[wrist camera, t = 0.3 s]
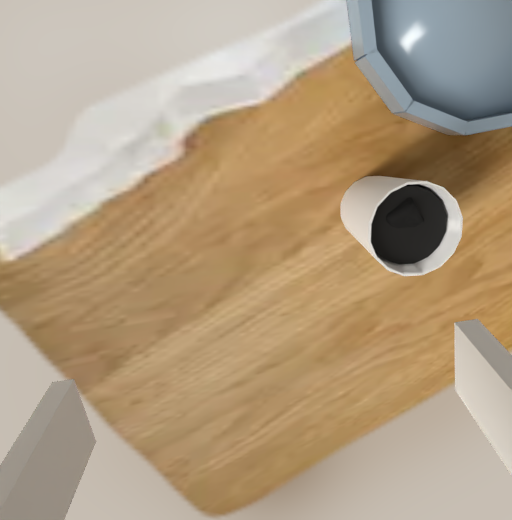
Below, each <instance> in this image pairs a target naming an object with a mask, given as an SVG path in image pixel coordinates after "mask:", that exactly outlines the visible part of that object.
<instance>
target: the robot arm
mask: <svg viewBox="0 0 512 520" xmlns="http://www.w3.org/2000/svg"><path fill="white" fill-rule="evenodd" d="M455 390H456V392H457V393H458V395H459V396H460V398H461V400H462V401H463V403H464V404H465V406H466V407H467V409H468V410H469V412H470V413H471V415H472V416H473V418H474V419H475V421H476V422H477V423H478V425H479V427H480V428H481V430H482V431H483V433H484V434H485V436H486V437H487V439H488V440H489V442H490V443H491V445H492V446H493V448H494V449H495V451H496V452H497V454H498V455H499V457H500V458H501V460H502V462H503V463H504V465H505V466H506V468H507V469H508V471H509V472H510V473H511V475H512V355H511V354H510V353H509V352H508V351H507V350H506V349H505V348H504V347H503V346H502V344H501V343H500V342H499V341H498V340H497V339H496V338H495V337H494V336H493V335H492V334H491V333H490V332H489V331H488V330H487V329H486V327H485V326H484V325H483V324H482V323H481V322H480V321H479V320H478V319H475V320H468V321H461V322H455ZM95 443H96V440H95V437H94V434H93V432H92V429H91V426H90V424H89V420H88V418H87V415H86V412H85V409H84V406H83V403H82V401H81V398H80V395H79V392H78V390H77V387H76V384H75V381H74V379H71V380H64V381H57V382H52V384H51V385H50V387H49V388H48V390H47V391H46V393H45V395H44V396H43V398H42V399H41V401H40V403H39V404H38V406H37V407H36V409H35V411H34V412H33V414H32V416H31V417H30V419H29V421H28V422H27V423H26V425H25V427H24V428H23V430H22V431H21V433H20V435H19V437H18V438H17V439H16V441H15V443H14V444H13V446H12V447H11V449H10V451H9V452H8V454H7V456H6V457H5V459H4V460H3V462H2V464H1V465H0V520H64V519H65V516H66V514H67V512H68V509H69V507H70V504H71V502H72V499H73V497H74V494H75V492H76V489H77V487H78V484H79V482H80V479H81V477H82V475H83V472H84V470H85V467H86V465H87V462H88V460H89V457H90V455H91V452H92V450H93V447H94V445H95Z"/></svg>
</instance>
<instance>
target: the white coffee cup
mask: <svg viewBox="0 0 512 520" xmlns="http://www.w3.org/2000/svg"><path fill="white" fill-rule="evenodd" d="M341 219H342V221H343V223H344V226H345V228H346V229H347V230H348V231H349V232H350V233H351V234H352V235H353V236H354V237H355V238H356V239H357V240H358V241H359V242H360V243H361V244H362V245H363V246H364V247H365V248H366V250H367V251H368V252H369V253H370V254H371V255H372V256H373V257H374V258H375V259H376V260H377V261H378V262H379V263H381V264H382V265H383V266H384V267H385V268H386V269H387V270H388V271H391V272H394V273H397V274H400V275H403V276H415V275H424V274H426V273H428V272H430V271H433V270H435V269H437V268H439V267H441V266H442V265H443V264H444V263H445V262H446V261H447V260H448V259H449V258H450V257H451V256H452V255H453V254H454V252H455V249H456V247H457V245H458V243H459V241H460V239H461V236H462V221H463V217H462V214H461V211H460V208H459V206H458V203H457V200H456V199H455V198H454V197H453V196H452V195H451V194H450V193H449V192H448V191H447V190H446V189H445V188H444V187H441V186H439V185H436V184H433V183H430V182H428V181H421V180H412V179H403V178H394V177H385V176H366V177H364V178H362V179H360V180H358V181H356V182H354V183H353V184H352V185H351V186H350V187H349V188H348V190H347V191H346V192H345V194H344V197H343V199H342V202H341Z"/></svg>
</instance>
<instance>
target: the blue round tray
mask: <svg viewBox="0 0 512 520" xmlns="http://www.w3.org/2000/svg"><path fill="white" fill-rule="evenodd" d="M347 8H348V16H349V24H350V32H351V40H352V48H353V56H354V61H355V60H357V61H356V62H355V63H356V65H357V66H358V68H359V69H360V70H361V72H362V73H363V74H364V76H365V77H366V78H367V80H368V81H369V83H370V84H371V85H372V87H373V88H374V89H375V91H376V92H377V93H378V95H379V96H380V97H381V99H382V100H383V102H384V103H385V104H386V106H387V107H388V108H389V110H390V111H391V112H392V113H393V114H395V115H397V116H400V117H402V118H405V119H407V120H410V121H413V122H415V123H418V124H420V125H423V126H425V127H428V128H431V129H433V130H436V131H438V132H441V133H444V134H446V135H470V134H475V133H480V132H486V131H491V130H496V129H501V128H506V127H511V126H512V0H347Z"/></svg>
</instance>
